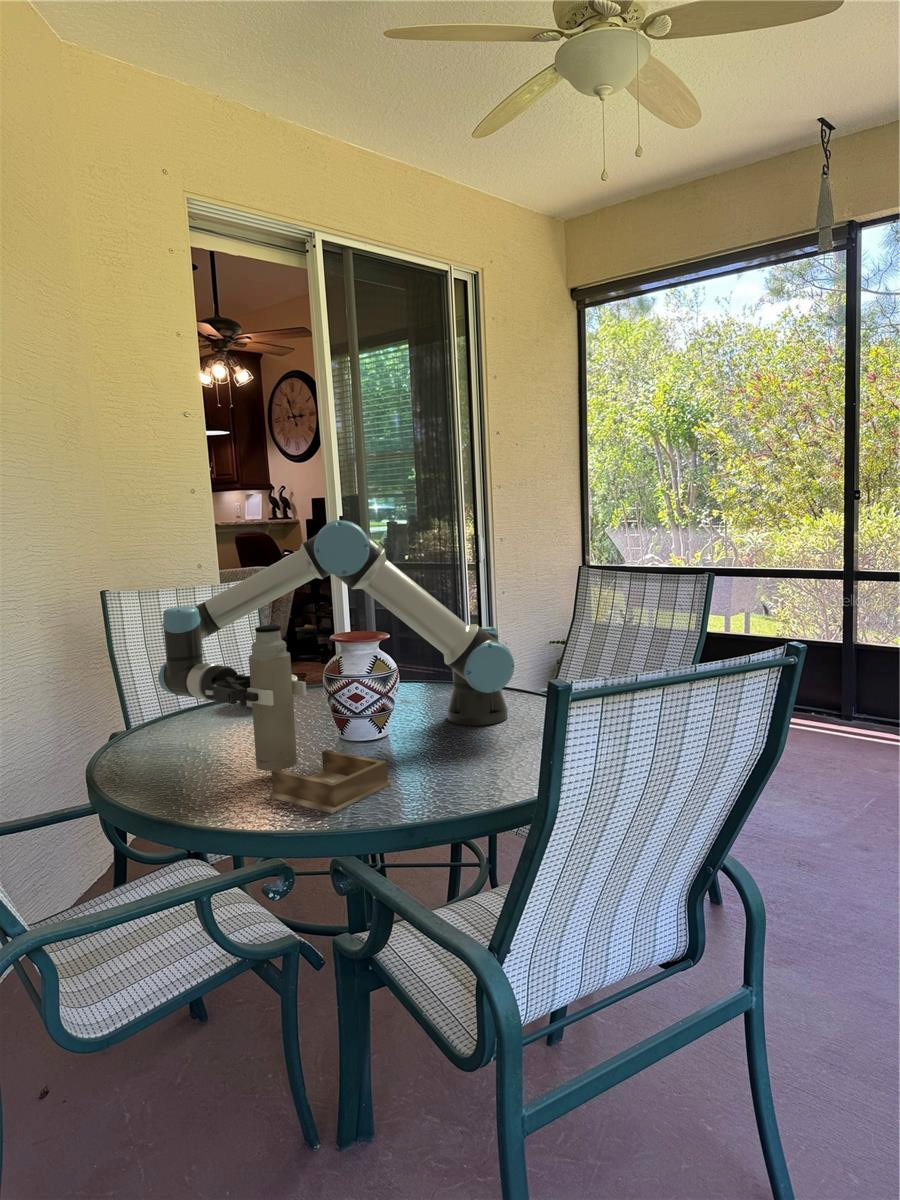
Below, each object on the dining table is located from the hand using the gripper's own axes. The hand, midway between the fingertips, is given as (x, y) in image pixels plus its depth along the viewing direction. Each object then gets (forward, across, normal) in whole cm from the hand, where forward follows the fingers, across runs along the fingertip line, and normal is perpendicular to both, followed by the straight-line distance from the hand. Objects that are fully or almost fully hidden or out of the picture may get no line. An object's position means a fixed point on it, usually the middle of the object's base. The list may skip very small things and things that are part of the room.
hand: (288, 693), depth 145 cm
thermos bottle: (-5, 0, -15) cm, 16 cm away
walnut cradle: (+10, 0, -18) cm, 20 cm away
